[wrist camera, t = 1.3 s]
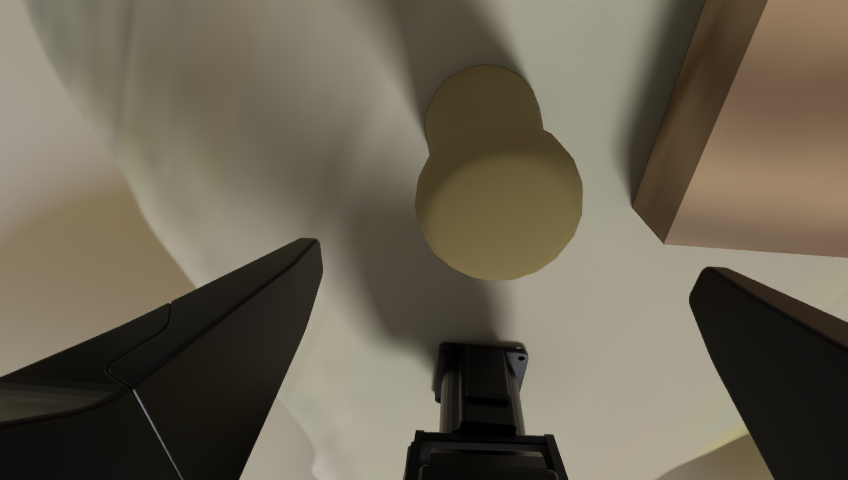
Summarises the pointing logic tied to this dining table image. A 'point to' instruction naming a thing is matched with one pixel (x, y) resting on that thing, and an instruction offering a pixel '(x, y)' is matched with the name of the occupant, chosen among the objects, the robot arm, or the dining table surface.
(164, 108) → the dining table surface
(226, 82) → the dining table surface
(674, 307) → the dining table surface
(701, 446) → the dining table surface
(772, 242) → the walnut base
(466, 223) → the olive-brown rounded piece
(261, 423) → the robot arm
